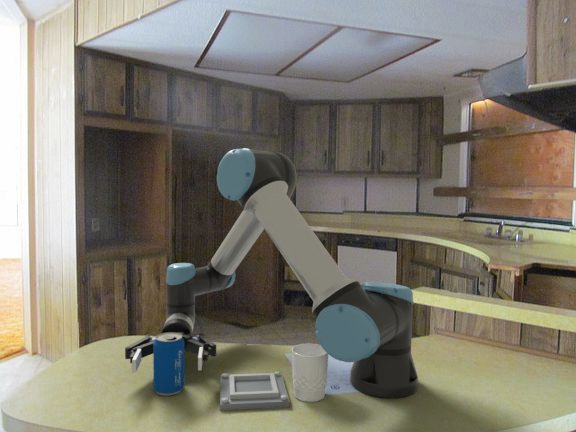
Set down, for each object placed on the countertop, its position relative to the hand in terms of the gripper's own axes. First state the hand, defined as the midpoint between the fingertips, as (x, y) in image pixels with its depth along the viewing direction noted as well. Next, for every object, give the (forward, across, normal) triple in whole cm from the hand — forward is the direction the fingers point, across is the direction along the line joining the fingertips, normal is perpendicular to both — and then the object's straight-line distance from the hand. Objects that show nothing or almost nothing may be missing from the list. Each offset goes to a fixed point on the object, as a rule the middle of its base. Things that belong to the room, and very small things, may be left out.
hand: (167, 365), depth 98 cm
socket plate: (0, -18, -7) cm, 19 cm away
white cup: (+2, -30, -7) cm, 31 cm away
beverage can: (-3, 0, -7) cm, 8 cm away
